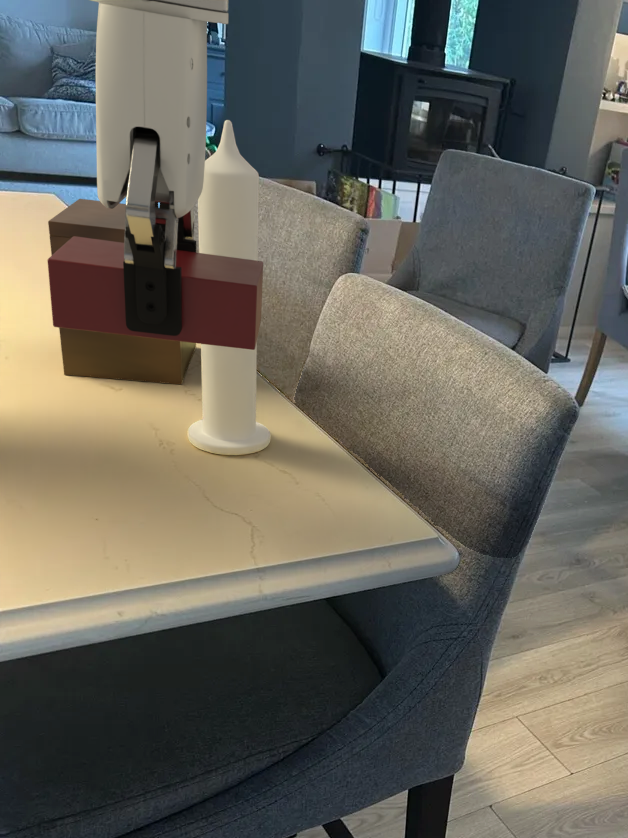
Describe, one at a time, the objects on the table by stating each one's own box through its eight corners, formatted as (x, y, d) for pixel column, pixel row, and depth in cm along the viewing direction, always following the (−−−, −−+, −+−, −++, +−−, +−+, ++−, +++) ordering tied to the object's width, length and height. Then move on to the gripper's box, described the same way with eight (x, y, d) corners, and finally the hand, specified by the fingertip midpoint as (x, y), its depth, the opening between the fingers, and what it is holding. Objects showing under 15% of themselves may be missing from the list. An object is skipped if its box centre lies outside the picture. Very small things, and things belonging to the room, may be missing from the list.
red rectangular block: (254, 350, 56) (257, 285, 53) (52, 327, 53) (46, 258, 51) (261, 320, 61) (263, 260, 59) (77, 298, 59) (73, 235, 57)
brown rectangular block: (63, 374, 85) (47, 221, 78) (91, 337, 95) (79, 198, 88) (181, 384, 87) (176, 235, 80) (196, 347, 97) (193, 211, 90)
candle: (222, 417, 82) (219, 112, 68) (286, 438, 79) (296, 127, 66) (170, 439, 76) (156, 112, 63) (237, 463, 74) (237, 128, 60)
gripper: (115, -28, 54) (127, 274, 63) (38, -42, 39) (69, 351, 49) (241, -5, 55) (234, 288, 65) (211, -10, 41) (208, 366, 50)
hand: (163, 312), depth 57 cm, fingers closed on red rectangular block, 6 cm apart
